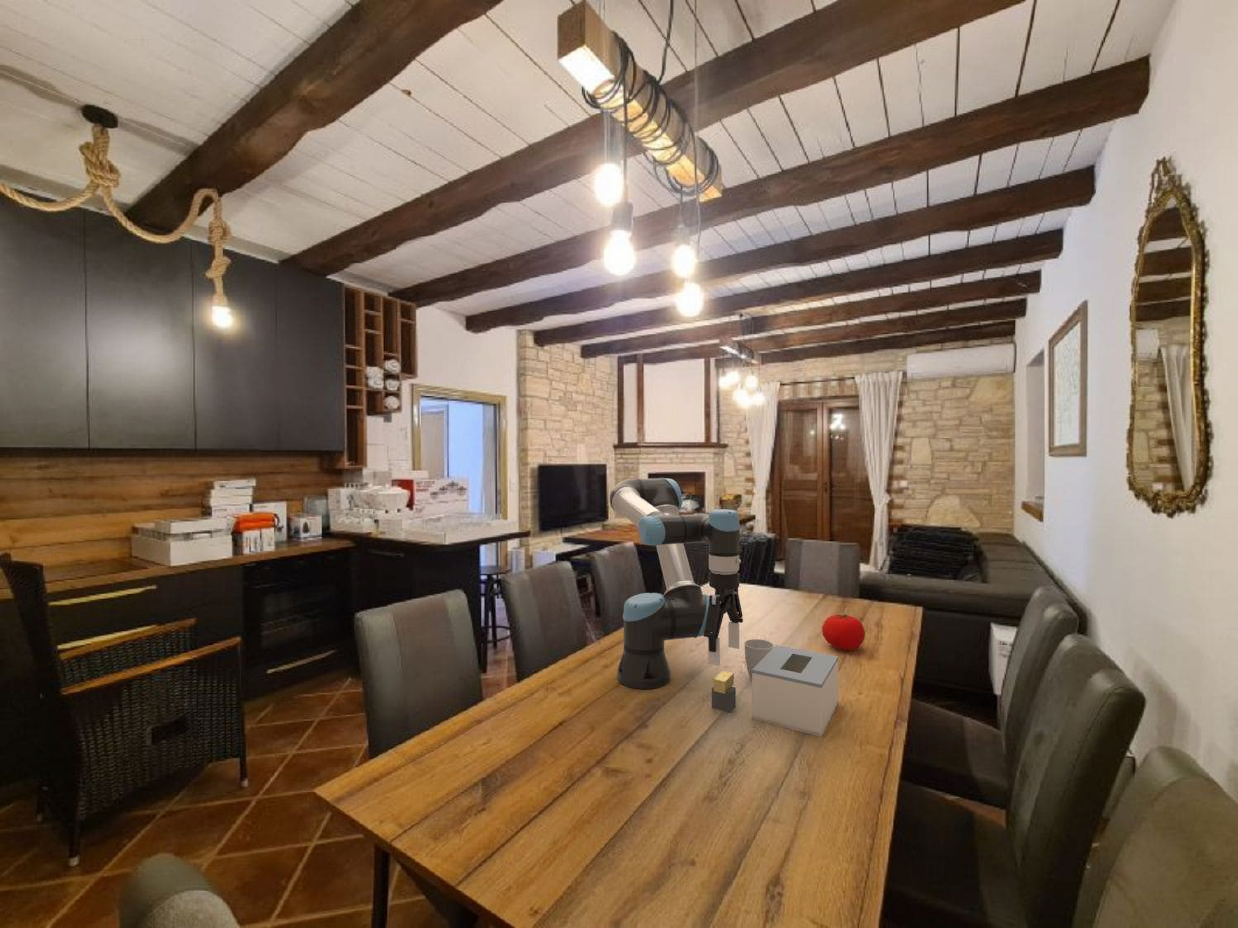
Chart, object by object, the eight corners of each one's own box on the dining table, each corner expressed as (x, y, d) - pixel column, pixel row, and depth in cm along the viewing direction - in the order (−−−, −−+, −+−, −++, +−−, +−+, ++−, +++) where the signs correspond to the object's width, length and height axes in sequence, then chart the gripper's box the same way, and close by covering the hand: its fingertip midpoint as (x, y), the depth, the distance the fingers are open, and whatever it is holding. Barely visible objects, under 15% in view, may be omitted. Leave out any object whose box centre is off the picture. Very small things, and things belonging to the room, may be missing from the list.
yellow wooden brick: (713, 690, 135) (713, 678, 135) (722, 682, 140) (722, 670, 140) (725, 693, 134) (725, 681, 133) (733, 684, 139) (733, 673, 139)
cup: (774, 685, 150) (774, 649, 150) (744, 683, 151) (744, 647, 151) (772, 674, 158) (772, 640, 157) (743, 671, 159) (743, 638, 159)
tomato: (873, 651, 176) (873, 617, 176) (841, 656, 171) (841, 622, 171) (845, 639, 187) (845, 608, 187) (815, 644, 182) (815, 612, 182)
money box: (752, 718, 131) (752, 669, 131) (775, 688, 148) (776, 644, 148) (821, 737, 122) (821, 684, 122) (838, 702, 139) (838, 656, 139)
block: (711, 707, 137) (711, 688, 137) (716, 702, 140) (717, 683, 140) (730, 712, 134) (730, 692, 134) (735, 707, 137) (735, 687, 137)
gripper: (719, 582, 124) (719, 675, 124) (754, 564, 145) (754, 643, 145) (689, 578, 128) (689, 668, 128) (727, 561, 149) (728, 638, 149)
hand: (724, 655), depth 136 cm, fingers open, 13 cm apart
